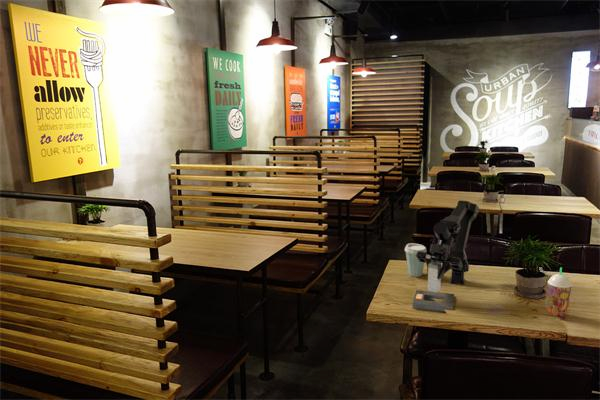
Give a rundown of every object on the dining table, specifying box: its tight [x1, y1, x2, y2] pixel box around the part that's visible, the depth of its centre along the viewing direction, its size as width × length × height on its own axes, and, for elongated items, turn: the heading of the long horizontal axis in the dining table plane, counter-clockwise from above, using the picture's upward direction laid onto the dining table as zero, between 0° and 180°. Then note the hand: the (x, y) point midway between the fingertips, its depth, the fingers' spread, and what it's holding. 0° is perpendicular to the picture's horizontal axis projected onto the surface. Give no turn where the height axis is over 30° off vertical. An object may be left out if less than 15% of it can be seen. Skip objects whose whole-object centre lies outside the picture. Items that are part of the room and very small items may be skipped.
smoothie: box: [546, 267, 573, 319], centre depth 185 cm, size 8×8×20 cm
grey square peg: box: [427, 261, 442, 293], centre depth 198 cm, size 4×4×12 cm
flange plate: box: [412, 289, 455, 313], centre depth 201 cm, size 14×16×3 cm
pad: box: [480, 303, 510, 315], centre depth 191 cm, size 8×8×2 cm
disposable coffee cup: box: [404, 242, 428, 278], centre depth 232 cm, size 11×11×15 cm
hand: (433, 277), depth 197 cm, fingers closed on grey square peg, 4 cm apart
